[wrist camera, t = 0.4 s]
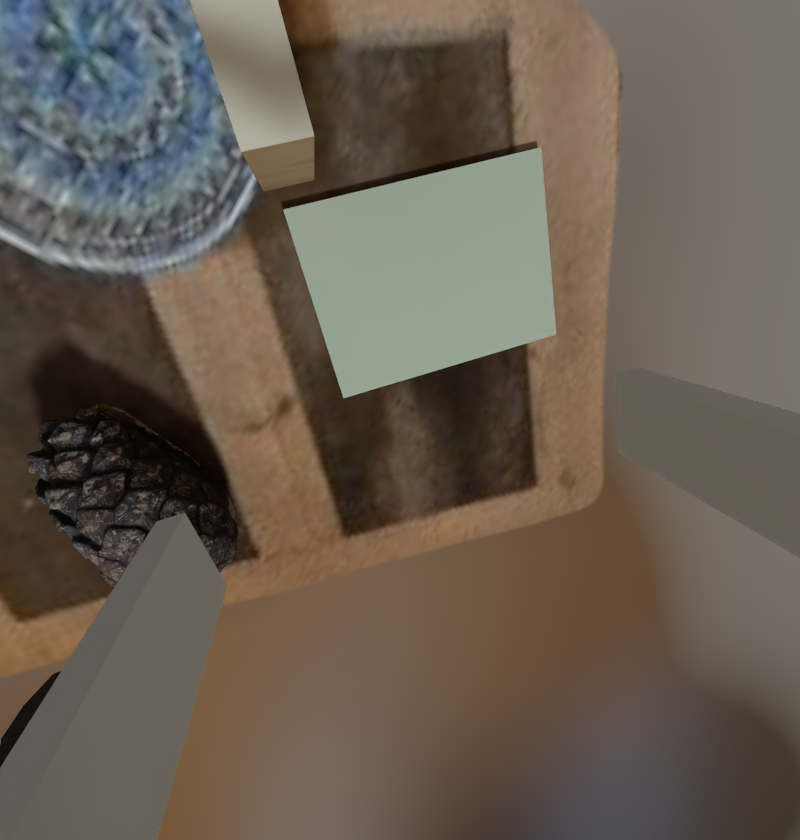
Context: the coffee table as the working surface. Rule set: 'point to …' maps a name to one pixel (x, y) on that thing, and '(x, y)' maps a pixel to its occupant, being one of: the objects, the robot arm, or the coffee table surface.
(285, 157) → the beige rectangular block
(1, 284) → the coffee table surface
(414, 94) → the coffee table surface
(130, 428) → the pine cone
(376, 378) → the mat
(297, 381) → the coffee table surface
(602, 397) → the coffee table surface
